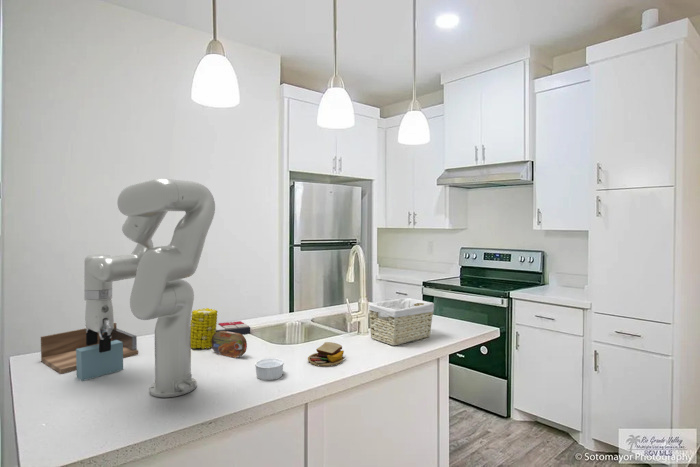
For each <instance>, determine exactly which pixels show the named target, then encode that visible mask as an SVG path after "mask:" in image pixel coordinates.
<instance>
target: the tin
mask: <svg viewBox="0 0 700 467" xmlns="http://www.w3.org/2000/svg"><path fill="white" fill-rule="evenodd" d="M247 342H248V341H247V338H246V337H245V336H244V335H242V334H240V333H234V332H228V331H220V332H216V333H215V334H214V335H213V337H212V340H211V345H212V347H211V348H212V350H213V352H214V353H215V354H217V355H219V356H223V357H228V358H233V359H236V358H239V357H241V356H243V355H244V354H246V351H247V349H248V348H247V347H248V343H247Z"/></svg>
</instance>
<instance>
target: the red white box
mask: <svg viewBox="0 0 700 467" xmlns="http://www.w3.org/2000/svg"><path fill="white" fill-rule="evenodd" d="M220 331H228V332H234V333H240V334H242V335H243V336H244V335H249V334H251V327H250V326H249V325H248V324H246V323H245V322H243V321H237V320H236V321H230V322H218V323H217V324H216V332H220Z"/></svg>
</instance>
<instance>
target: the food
mask: <svg viewBox="0 0 700 467" xmlns="http://www.w3.org/2000/svg"><path fill="white" fill-rule="evenodd" d="M216 324H218V310H217V309H215V308H214V309H213V308H209V307H206V308H198V309H195V310H193V309H192V312H191V334H190V337H191V349H202V350H204V349H211V348H212V345H211V340H212V337H213V335H214V334H215V333H216Z"/></svg>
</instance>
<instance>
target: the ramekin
mask: <svg viewBox="0 0 700 467" xmlns="http://www.w3.org/2000/svg"><path fill="white" fill-rule="evenodd" d="M284 365H285V361H284V360H283V359H281V358H276V357H267V358H266V357H265V358H261V359H258V360H257V361H256V362H255V363H254V366H255V372H256V377H257V378H258V379H259V380H261V379H262V381H273V379H275V380H277V378H278V379H280V378H281V377H282V376H283V372H284V371H283V370H284ZM279 377H280V378H279Z"/></svg>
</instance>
